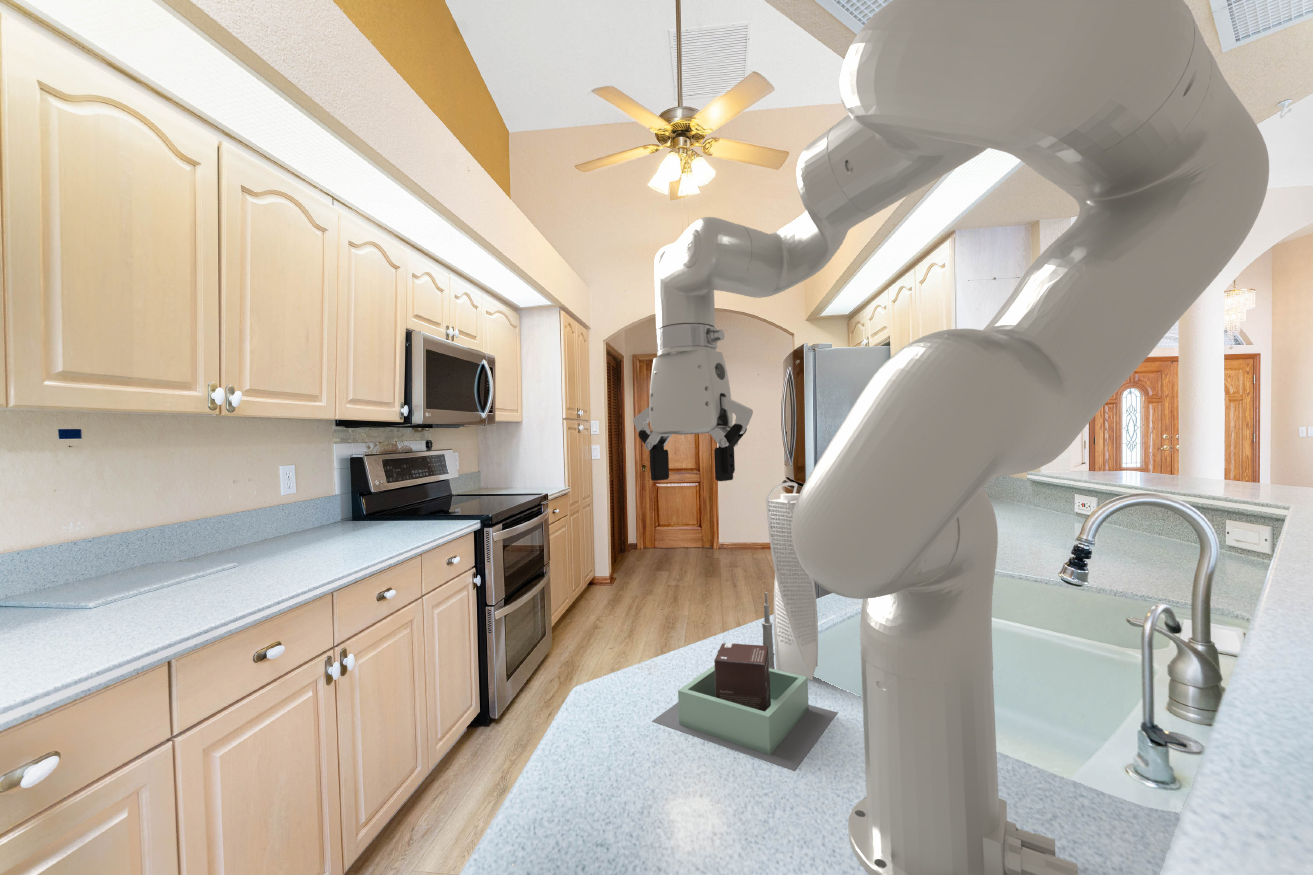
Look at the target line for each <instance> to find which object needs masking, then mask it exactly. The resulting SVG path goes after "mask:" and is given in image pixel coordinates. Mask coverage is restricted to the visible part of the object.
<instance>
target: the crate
mask: <svg viewBox="0 0 1313 875" xmlns="http://www.w3.org/2000/svg"><path fill="white" fill-rule="evenodd" d="M769 676H770V697H771V706H770V707H769V708H768V709H767V710H766V711H765V712H764V711H761V710H757V709H754V708H750V707H747V706H743V705H740V704H736V703H733V702H729V701H726V700H722V699H719V698H716V697H715V664H714V665H712V666H711V667H710V668H708V669H707V670H706V671H703V672H702V673H701V674H699V675H698V676H697V677H695V678H694V679H692V680H691V681H690V682H688V683H686V684H685V685H684V686H682V687H681V688H679V689H678V690H677V693H678V695H677V696H678V697H677V698H678V700H677V702H678V703H679V724H680V725H683V726H686V727H689V728H692V729H695V730H698V731H701V732H704V733H707V734H710V735H712V736H715V737H718V738H721V739H724V740H727V741H730V742H733V743H736V744H739V745H742V746H745V747H748V748H751V749H754V750H757V751H760V752H763V753H766V754H769V755H770V754H771V753H772V752H773V751H774V750H775V748H776V747H777V746H778V745H779V744H780V743H781V741H782V740H783V739H784V738H785V737H786V736H787V734H788V733H789V732H790V731H791V730H792V729H793V727H794V726H795V725H796V724H797V723H798V722H799V720H800V719H801V718H802V717H803V716H804V714H805V713H806V712H807V711H808V710H809V705H810V704H809V682H808V680H809V679H808V678H807V677H805V676H801V675H797V674H792V673H788V672H784V671H780V670H776V668H775V669H771V668H769Z"/></svg>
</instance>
